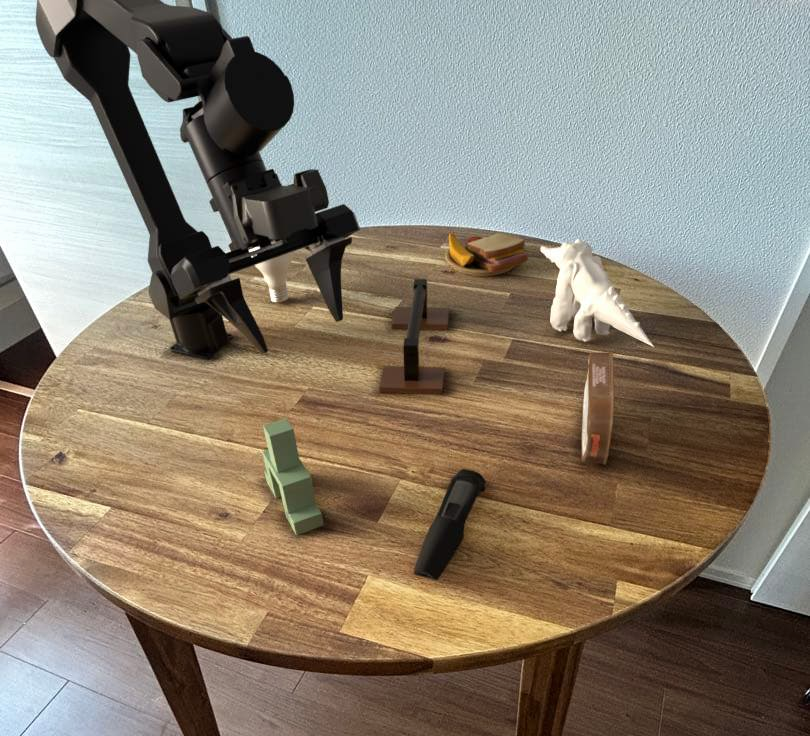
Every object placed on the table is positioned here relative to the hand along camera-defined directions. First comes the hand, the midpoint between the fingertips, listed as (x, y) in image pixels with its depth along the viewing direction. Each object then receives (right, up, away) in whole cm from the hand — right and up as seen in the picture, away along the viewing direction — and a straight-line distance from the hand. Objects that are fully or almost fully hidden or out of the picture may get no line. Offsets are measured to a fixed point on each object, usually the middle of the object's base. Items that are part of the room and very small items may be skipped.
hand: (303, 336), depth 66 cm
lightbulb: (-9, +16, +34) cm, 38 cm away
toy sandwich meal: (+24, +25, +41) cm, 53 cm away
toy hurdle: (+12, +5, +23) cm, 26 cm away
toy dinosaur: (+36, +7, +24) cm, 44 cm away
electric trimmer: (+15, -20, -1) cm, 25 cm away
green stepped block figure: (-1, -17, +2) cm, 17 cm away
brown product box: (+32, -9, +9) cm, 34 cm away
